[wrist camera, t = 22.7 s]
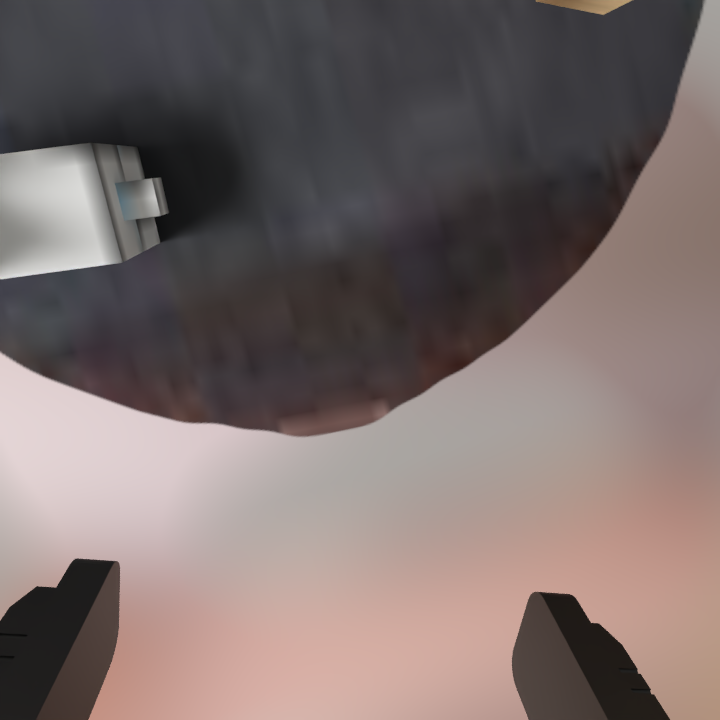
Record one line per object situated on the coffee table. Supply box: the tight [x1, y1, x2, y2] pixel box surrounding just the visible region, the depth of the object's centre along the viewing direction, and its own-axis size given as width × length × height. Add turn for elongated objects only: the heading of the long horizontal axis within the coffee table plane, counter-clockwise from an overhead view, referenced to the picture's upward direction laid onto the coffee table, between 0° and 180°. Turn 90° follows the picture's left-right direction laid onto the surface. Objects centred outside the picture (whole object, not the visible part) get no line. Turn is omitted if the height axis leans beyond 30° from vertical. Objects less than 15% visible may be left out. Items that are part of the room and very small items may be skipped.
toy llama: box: [0, 143, 169, 279], centre depth 36 cm, size 8×18×20 cm, turn 97°
